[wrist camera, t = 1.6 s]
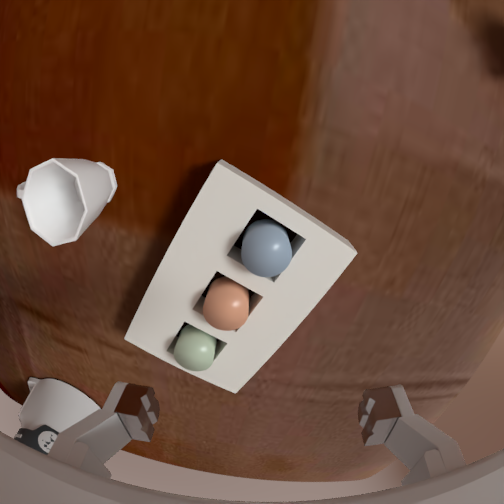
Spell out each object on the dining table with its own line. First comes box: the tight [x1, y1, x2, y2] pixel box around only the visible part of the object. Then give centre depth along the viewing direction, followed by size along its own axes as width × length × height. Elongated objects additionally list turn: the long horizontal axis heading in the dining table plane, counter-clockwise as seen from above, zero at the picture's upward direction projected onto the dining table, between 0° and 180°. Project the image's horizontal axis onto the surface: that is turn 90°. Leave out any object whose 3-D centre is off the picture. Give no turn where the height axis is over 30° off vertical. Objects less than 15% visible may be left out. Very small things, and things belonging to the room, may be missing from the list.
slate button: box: [241, 219, 292, 277], centre depth 25 cm, size 4×4×3 cm
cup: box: [17, 158, 117, 246], centre depth 22 cm, size 7×10×8 cm
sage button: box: [174, 324, 217, 371], centre depth 30 cm, size 4×4×3 cm
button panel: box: [124, 159, 357, 393], centre depth 29 cm, size 21×14×3 cm
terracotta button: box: [203, 277, 249, 331], centre depth 27 cm, size 4×4×3 cm
